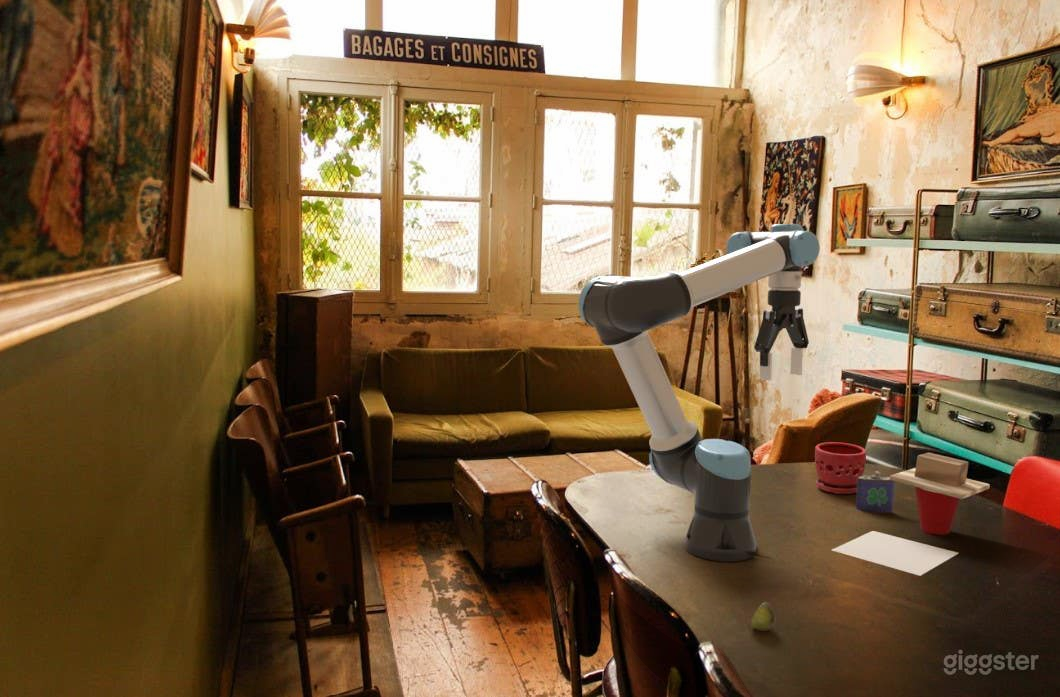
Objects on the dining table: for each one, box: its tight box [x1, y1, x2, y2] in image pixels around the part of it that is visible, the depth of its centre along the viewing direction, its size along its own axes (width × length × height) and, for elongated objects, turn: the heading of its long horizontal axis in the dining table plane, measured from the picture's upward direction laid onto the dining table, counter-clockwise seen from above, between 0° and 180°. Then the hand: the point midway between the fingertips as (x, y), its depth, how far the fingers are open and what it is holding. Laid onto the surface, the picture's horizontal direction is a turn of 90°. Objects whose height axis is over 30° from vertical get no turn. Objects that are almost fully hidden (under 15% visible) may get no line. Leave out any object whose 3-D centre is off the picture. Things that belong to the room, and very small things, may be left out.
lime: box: [749, 601, 777, 632], centre depth 144 cm, size 4×5×5 cm
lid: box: [889, 452, 990, 500], centre depth 191 cm, size 16×16×6 cm
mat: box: [831, 530, 959, 576], centre depth 179 cm, size 19×19×1 cm
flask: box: [855, 470, 896, 515], centre depth 208 cm, size 9×3×11 cm, turn 87°
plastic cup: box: [914, 486, 961, 536], centre depth 192 cm, size 11×11×12 cm
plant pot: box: [814, 441, 867, 495], centre depth 228 cm, size 13×13×12 cm
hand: (781, 377), depth 202 cm, fingers open, 13 cm apart
